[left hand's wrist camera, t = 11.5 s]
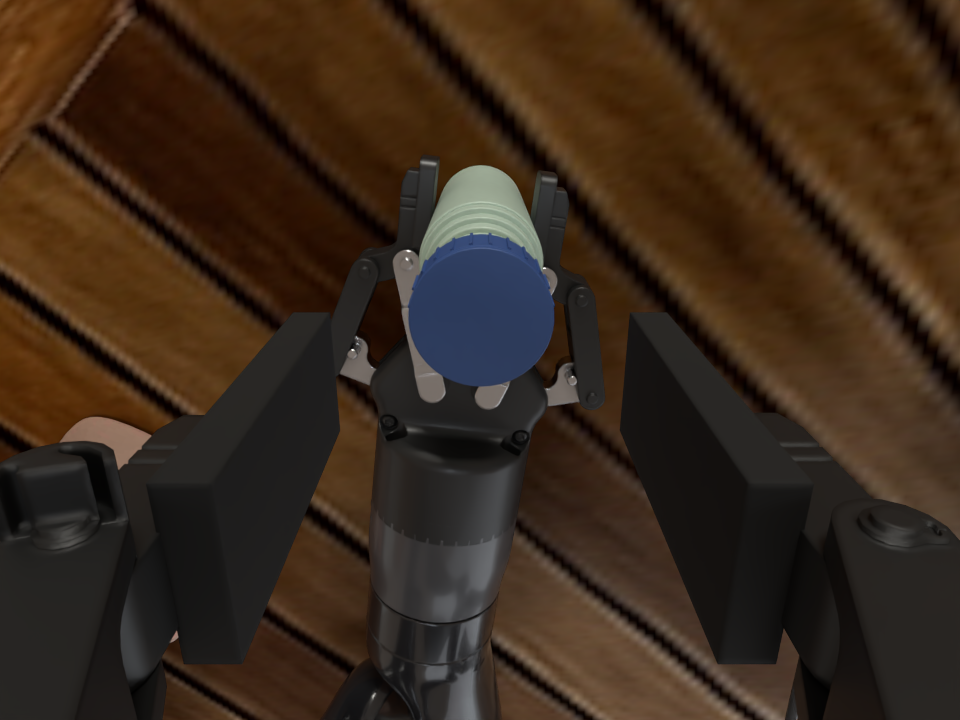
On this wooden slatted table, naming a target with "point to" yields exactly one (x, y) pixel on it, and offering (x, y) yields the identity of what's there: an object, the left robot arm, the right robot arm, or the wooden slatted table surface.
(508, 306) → the cap
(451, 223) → the bottle
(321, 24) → the wooden slatted table surface
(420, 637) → the right robot arm
